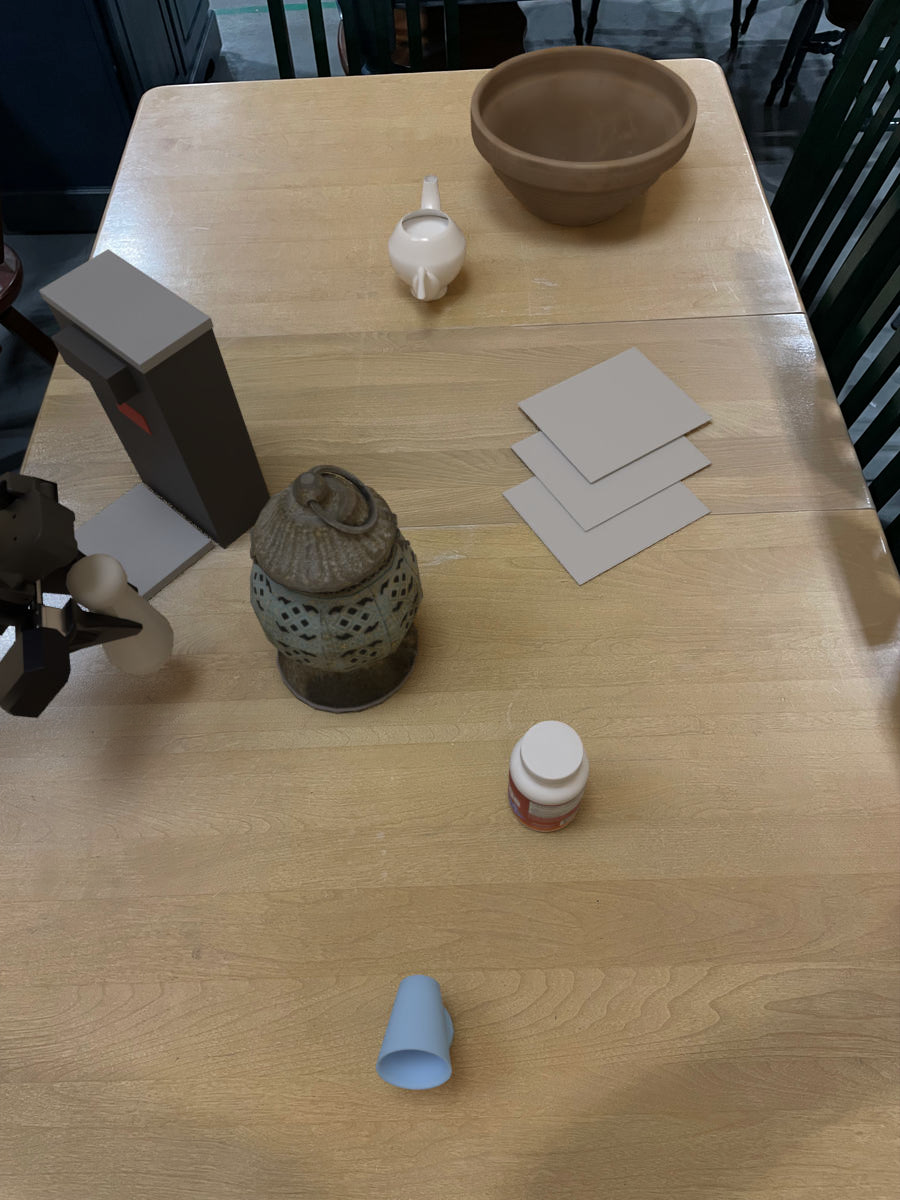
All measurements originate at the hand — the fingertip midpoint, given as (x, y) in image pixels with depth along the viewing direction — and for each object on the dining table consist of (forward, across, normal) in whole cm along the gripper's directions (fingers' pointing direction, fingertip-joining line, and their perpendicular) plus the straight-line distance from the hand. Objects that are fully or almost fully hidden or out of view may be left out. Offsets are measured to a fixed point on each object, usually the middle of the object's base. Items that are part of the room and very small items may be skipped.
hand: (138, 611), depth 69 cm
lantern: (+20, -2, -3) cm, 20 cm away
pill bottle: (+29, -21, -11) cm, 37 cm away
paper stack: (+42, +12, -26) cm, 51 cm away
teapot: (+35, +46, -18) cm, 61 cm away
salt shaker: (+4, 0, +6) cm, 7 cm away
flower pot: (+52, +58, -36) cm, 86 cm away
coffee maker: (+9, +19, +8) cm, 22 cm away
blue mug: (+18, -36, -1) cm, 40 cm away
